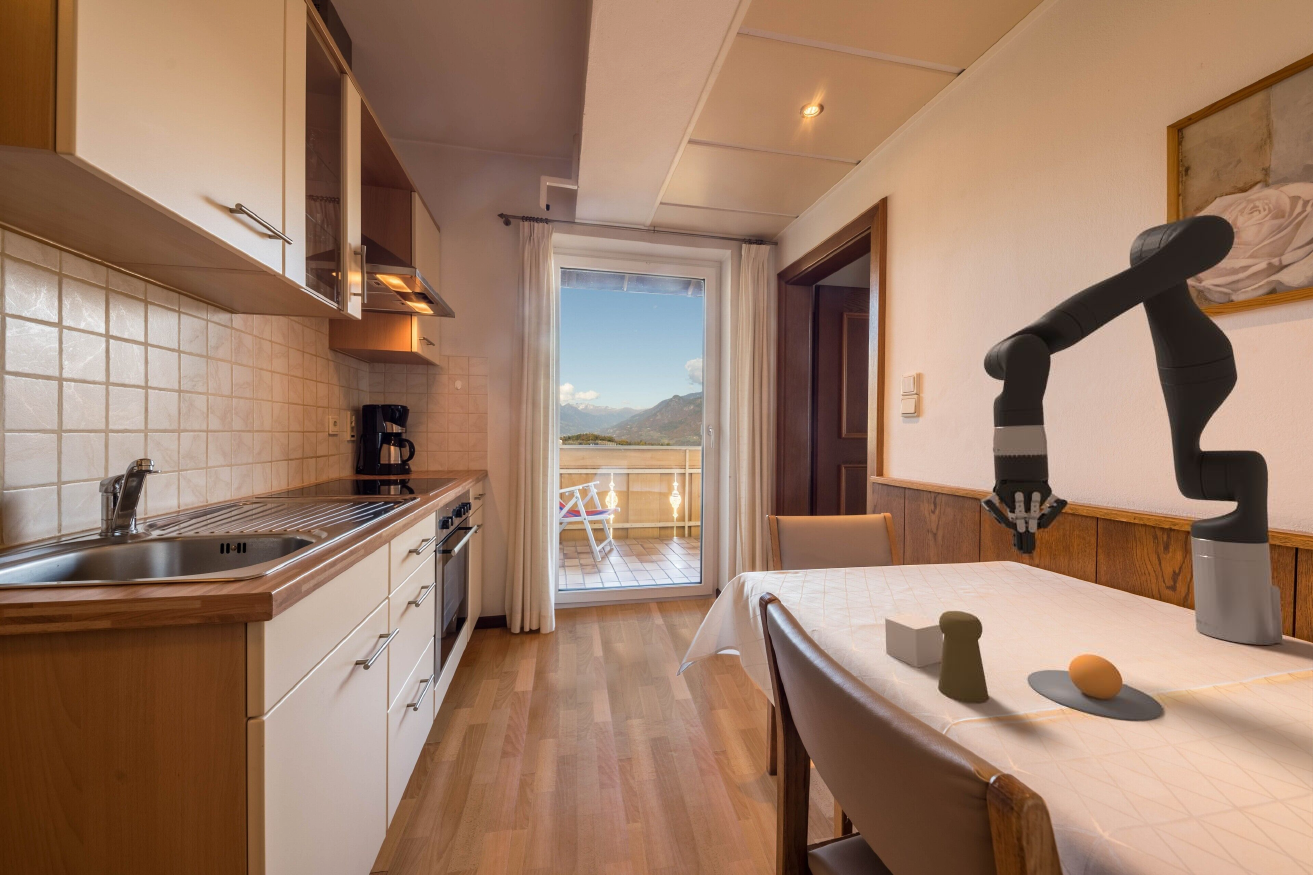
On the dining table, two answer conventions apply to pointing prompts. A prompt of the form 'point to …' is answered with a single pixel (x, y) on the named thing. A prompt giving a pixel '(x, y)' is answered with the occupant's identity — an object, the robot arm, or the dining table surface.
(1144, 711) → the disc
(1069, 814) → the dining table surface
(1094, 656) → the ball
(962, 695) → the cork
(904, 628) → the grey cube
